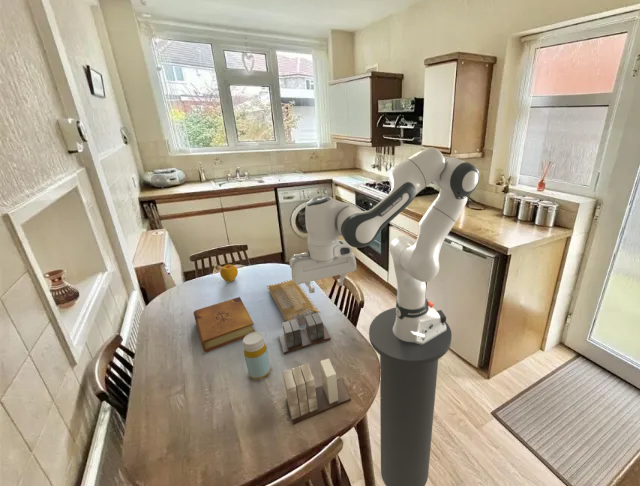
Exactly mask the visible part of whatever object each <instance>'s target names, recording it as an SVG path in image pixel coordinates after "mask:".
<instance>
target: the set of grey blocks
mask: <svg viewBox="0 0 640 486" xmlns="http://www.w3.org/2000/svg"><path fill="white" fill-rule="evenodd" d="M311 314H312V313H311ZM307 315H308V316H306V315H304V316H305V323H304V324H305V328H302V329H301V328H300V325H298V322H297V320H296V318H293V320H292V319H291V321H290V322H289V321H287V322H286V321H284V322H282V325H281V326H282V330H283V335H280V336H278V339H279V343H280V346H281V349H282V353H283V355H287V354H290V353H293V352H296V351H299V350H302V349H306V348H309V347H311V346H315V345H317V344H321V343H324V342H327V341H330V340H331V337H330V335H329V333H328V330H327V329H326V327H325V325H324V322H323V320H322V317H321V316H320V314H319V312H318V313H315V314H312V316H311V315H309V314H307Z"/></svg>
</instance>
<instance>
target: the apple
mask: <svg viewBox="0 0 640 486" xmlns="http://www.w3.org/2000/svg"><path fill="white" fill-rule="evenodd" d="M238 271H239V270H238V267H236V265H234V264H230V263H229V264H225V265H224V266H222V267H220V271H219V274H220V275H219V276H220V277H221V278H222V280H223V281H225V282H227V283H231V282H233V281H234V280H236V278H237V277H238V273H239V272H238Z"/></svg>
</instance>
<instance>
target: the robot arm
mask: <svg viewBox="0 0 640 486" xmlns="http://www.w3.org/2000/svg"><path fill="white" fill-rule="evenodd" d="M388 179H389V180H388V181H389V186H390V189H391V190H390V192H389V193H388V194H387V195H386V196H385V197H384V198H383V199H382V200H380V201H379V202H378V203H377V204H376V205H374V206H373V207H372V208H371V209H368V210H362V209H361V208H360V207H358V206H357V205H355V204H353V203H349V202H343V201H340V200H337V199H334V198H333V197H332V196H330V195H319V196H314V197H313V198H311V199H310V200H309V201H307V202H306V205H305V211H304V219H305V220H304V221H305V229H306V232H307V240H306V241H307V242H306V243H307V250H308V251H307V252H302V253H296V254H293V256H291V257H290V259H289V261H288V264H289V268H290V269H291V280H293V282H294V283H295V284H297V285H298V284H299V285H302V284H305V286H306V287H307V288H308V292H309V294H313V293H316V291H315V290H316V289H315V287H314V285H311V282H314V281H315V282H316V281H319V280H324V279H327V278H331V277H336V276H340V277H339V278H338V279H336V284H337V286H338V287H341V286H344V280H345V279H346V277H347V274H348V273H349V274H350V273H353V272H355V271H356V269H357V260H356V256H355V254H354V252H353V251H354V248H356V249H362V248H365V247H367V246H369V245H371V244H372V243H373V242H374V241H375V240H376V239H377V238H378V236H379V235H380V233H381V232H382V231H383V229H384V228H385V227H386V226H387V225H388V224H390V223H391V222H392V221H393V220H394V219H396V217H397V216H398V215H400V213H401V212H403V211H404V210H405V209H406V208H408V207H409V205H410V204H411V203H412V202H413V200H414V199H415V197H416V195H418V194H419V193H420V192H421V191H422V190H424V189H425V188H426V187H428V186H429V185H430V184H431V185H435V186H436V187H438V188H439V193H438V196H437V197H436V198H435V199H434V200H433V201H432V203H431V204H430V206H429V207H428V209H427V210H426V212H425V213H424V214H423V216H422V217H421V219H420V220H419V222H418V233H417V237H416V240H415V239H414V238H412V237H409V236H405V235H400V236H397V237H395V238H393V240H392V241H391V242H390V245H389V253H390V255H391V259H392V262H393V268H394V272H395V279H396V285H397V288H396V290H397V291H396V296H397V297H396V300H395V308H396V320H395V323H394V326H393V333H394V335H395V336H396V337H397V338H399V339H400V340H403V341H406V342H414V343H417V344H420V345H423V344H424V343H426V342H428V341H429V340H431V339H433V338H434V337H436V336H438V335H439V334H441V333H443V332H444V331H446V325H445V323H444V322H447V316H446V315H445V313H444V312H443V311H442V309H438V310H436V309H435V308H434V306H435V304H434V303H433V302H432V301H431V300H430V301H429V300H428V299H427V297H426V293H427V284H426V283H429V282H431V281H433V280H434V279H435V278H436V277H437V276H438V274H439V271H440V259H439V258H440V253H441V249H442V246H443V244H444V241H445V239H446V238H447V236H448V235H449V234H450V232H451V230H452V229H453V227H454V226H455V224H456V223H457V221H458V220H459V218H460V216H461V215H462V214H463V211H464V209H465V208H466V204H467V202H468V197H469V196H470V195H471V194H472V193H473V192H474V191H475V190H476V189H477V187H478V185H479V182H480V171H479V169H478V168H477V167H476V166H475V165H474V164H472V163H471V162H468V161H467V162H466V161H464V160H462V159H460V158H456V157H451V156H446V155H444V154H443V153H442V152H441V151H440V150H439V149H438V148H436V147H431V146H429V147H426V148H423V149H421V150H418V151H417V152H415V153H413V154H412V155H410V156H408V157H407V158H405V159H403V160H402V161H400V162H399V163H398V164H397V165H395V167H393V169H392V170H391V171H390V174H389V178H388ZM339 237H342V238H343V239H338V238H339Z"/></svg>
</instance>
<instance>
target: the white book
mask: <svg viewBox="0 0 640 486" xmlns="http://www.w3.org/2000/svg"><path fill="white" fill-rule="evenodd" d="M319 362H320V374H321V382H322V385H323V389H324V391H325V394H326V396H327V399H328V401H329V404H331V403H333V402H336V401H338V392H337V372H336V370H335V368H334V367H333V364H332V362H331V360H330V358H326V359H323V360H320V361H319Z"/></svg>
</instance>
